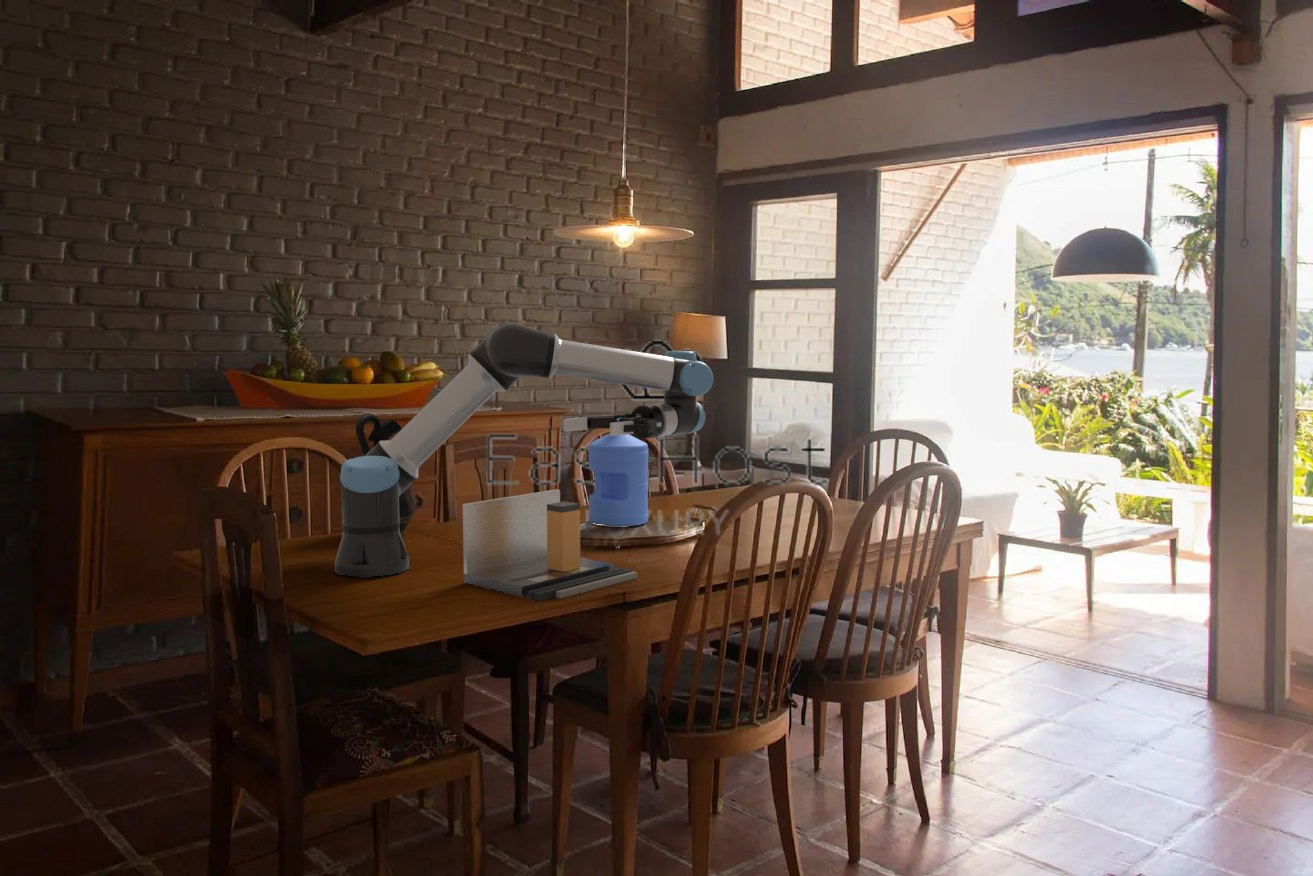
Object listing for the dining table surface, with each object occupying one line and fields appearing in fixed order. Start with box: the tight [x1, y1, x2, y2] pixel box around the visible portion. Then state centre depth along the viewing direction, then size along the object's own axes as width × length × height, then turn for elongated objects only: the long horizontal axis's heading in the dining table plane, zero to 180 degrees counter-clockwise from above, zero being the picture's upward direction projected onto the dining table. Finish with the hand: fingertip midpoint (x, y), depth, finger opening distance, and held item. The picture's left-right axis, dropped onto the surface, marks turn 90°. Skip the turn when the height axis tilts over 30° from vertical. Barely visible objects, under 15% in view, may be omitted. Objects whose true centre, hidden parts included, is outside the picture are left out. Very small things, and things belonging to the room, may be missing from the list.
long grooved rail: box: [526, 567, 638, 602], centre depth 208 cm, size 26×5×1 cm, turn 140°
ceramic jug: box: [355, 413, 416, 537], centre depth 259 cm, size 17×15×30 cm
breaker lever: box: [547, 500, 581, 572], centre depth 216 cm, size 5×4×13 cm
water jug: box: [588, 417, 649, 527], centre depth 277 cm, size 16×16×28 cm
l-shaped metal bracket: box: [462, 488, 616, 598], centre depth 216 cm, size 26×17×16 cm, turn 140°
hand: (587, 427), depth 223 cm, fingers open, 13 cm apart
